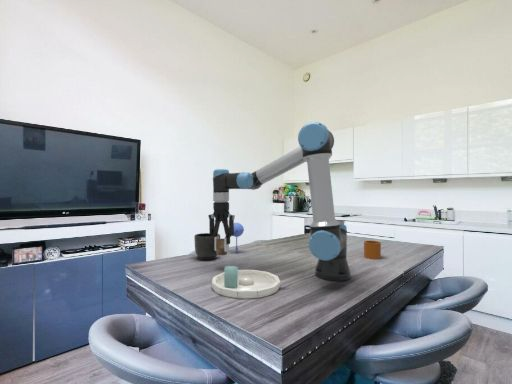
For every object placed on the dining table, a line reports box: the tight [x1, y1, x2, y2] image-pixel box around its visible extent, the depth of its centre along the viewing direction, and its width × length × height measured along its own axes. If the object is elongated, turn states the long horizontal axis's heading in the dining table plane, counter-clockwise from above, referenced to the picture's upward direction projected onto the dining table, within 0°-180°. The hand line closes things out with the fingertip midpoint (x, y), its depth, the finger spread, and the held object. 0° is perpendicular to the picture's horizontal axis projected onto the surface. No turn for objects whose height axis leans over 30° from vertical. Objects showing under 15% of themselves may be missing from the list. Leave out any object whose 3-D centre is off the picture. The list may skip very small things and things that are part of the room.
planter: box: [194, 232, 221, 261], centre depth 150 cm, size 14×14×13 cm
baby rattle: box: [232, 222, 245, 254], centre depth 165 cm, size 9×9×18 cm
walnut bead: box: [216, 238, 228, 256], centre depth 131 cm, size 5×5×7 cm
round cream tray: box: [211, 269, 281, 300], centre depth 107 cm, size 26×26×3 cm
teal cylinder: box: [223, 265, 239, 289], centre depth 104 cm, size 5×5×7 cm
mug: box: [363, 240, 382, 260], centre depth 157 cm, size 9×12×9 cm
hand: (221, 250), depth 131 cm, fingers closed on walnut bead, 5 cm apart
